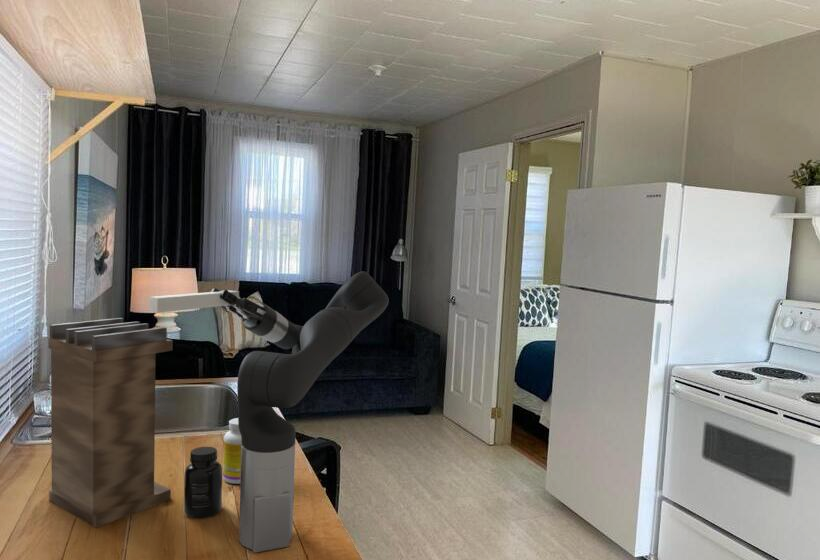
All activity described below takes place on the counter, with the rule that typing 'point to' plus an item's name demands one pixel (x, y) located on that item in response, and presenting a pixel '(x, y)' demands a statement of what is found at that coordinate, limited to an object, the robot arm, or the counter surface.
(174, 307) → the bar
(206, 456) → the supplement bottle
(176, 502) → the counter surface
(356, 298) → the robot arm
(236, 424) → the supplement bottle
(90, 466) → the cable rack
